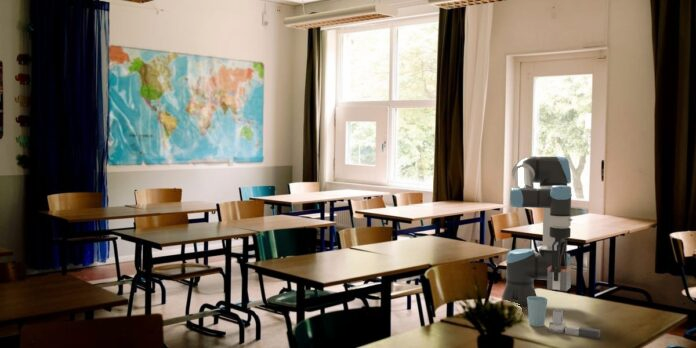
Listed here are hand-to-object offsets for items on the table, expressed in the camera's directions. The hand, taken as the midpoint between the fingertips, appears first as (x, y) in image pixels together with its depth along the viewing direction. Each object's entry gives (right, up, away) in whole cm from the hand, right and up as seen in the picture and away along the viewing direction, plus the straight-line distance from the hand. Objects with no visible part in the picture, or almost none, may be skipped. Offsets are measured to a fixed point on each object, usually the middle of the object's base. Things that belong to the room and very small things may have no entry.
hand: (558, 287), depth 255 cm
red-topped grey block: (0, 0, 0) cm, 0 cm away
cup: (-5, -17, +10) cm, 20 cm away
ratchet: (+5, -17, -2) cm, 18 cm away
